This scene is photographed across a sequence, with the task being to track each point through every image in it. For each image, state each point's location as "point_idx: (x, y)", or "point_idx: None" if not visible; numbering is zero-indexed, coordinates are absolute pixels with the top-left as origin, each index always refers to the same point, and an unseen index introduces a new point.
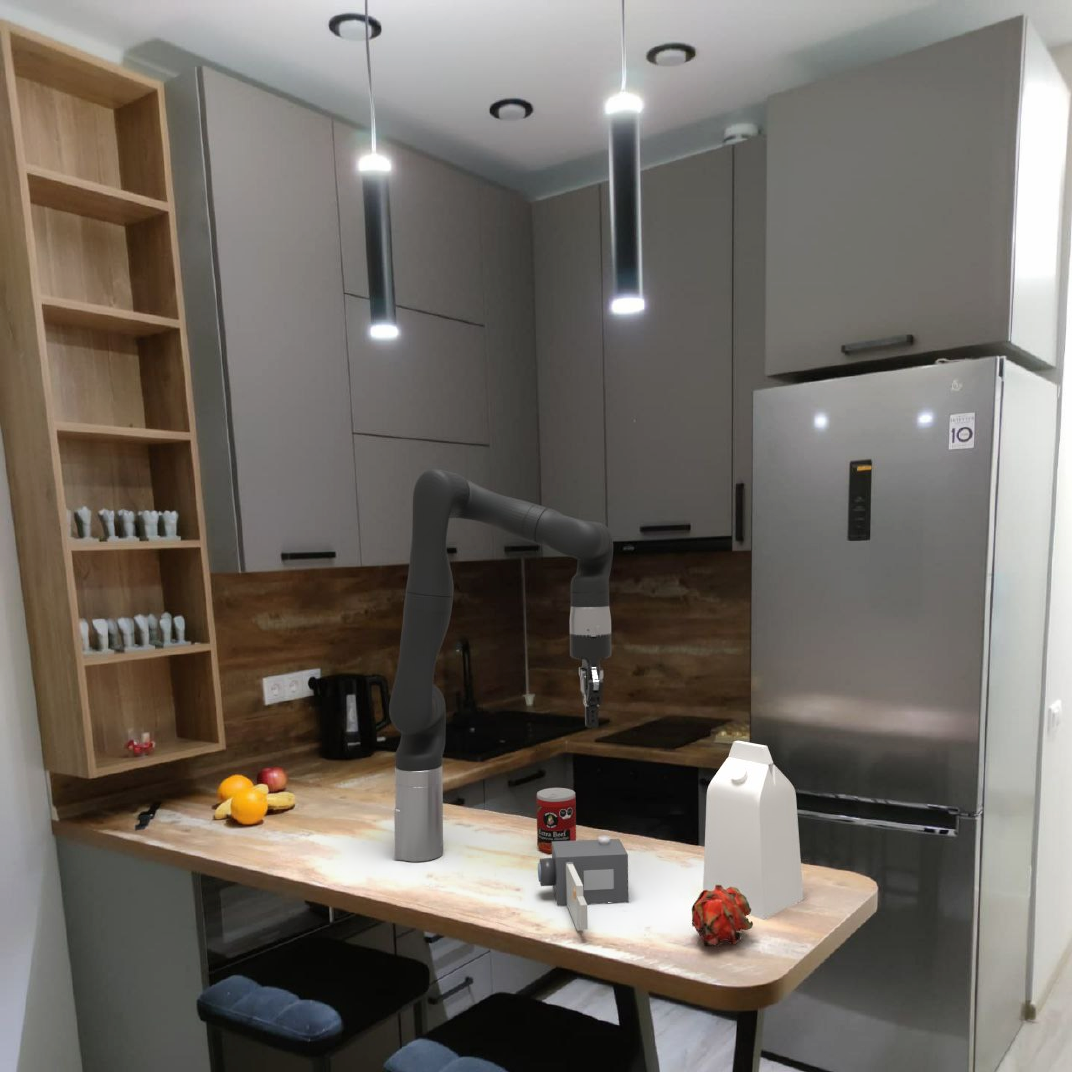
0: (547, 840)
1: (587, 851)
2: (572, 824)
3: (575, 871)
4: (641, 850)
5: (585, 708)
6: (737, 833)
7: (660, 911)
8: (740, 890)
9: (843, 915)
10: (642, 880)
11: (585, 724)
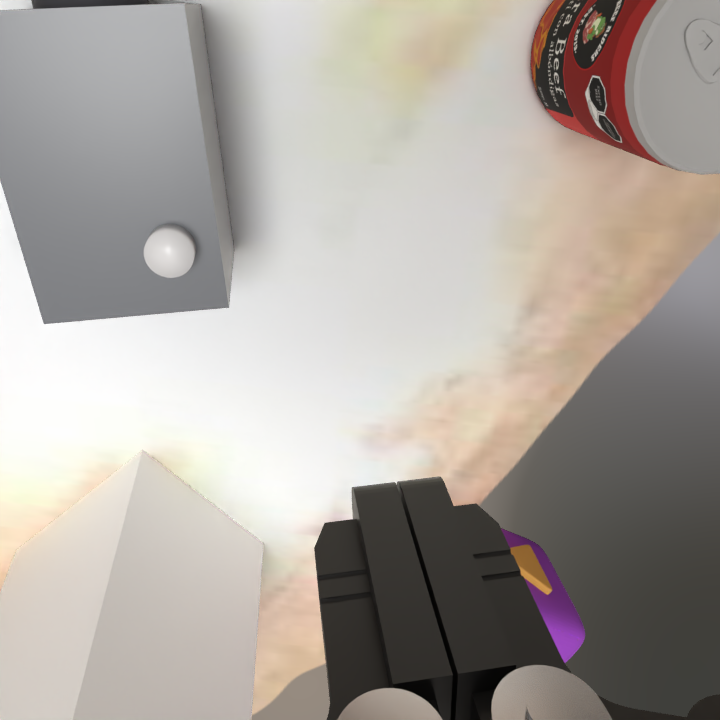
0: (563, 10)
1: (57, 169)
2: (591, 131)
3: None
4: (513, 338)
5: (447, 650)
6: (8, 681)
7: (30, 341)
8: (46, 552)
9: None
10: (267, 317)
11: (420, 483)
